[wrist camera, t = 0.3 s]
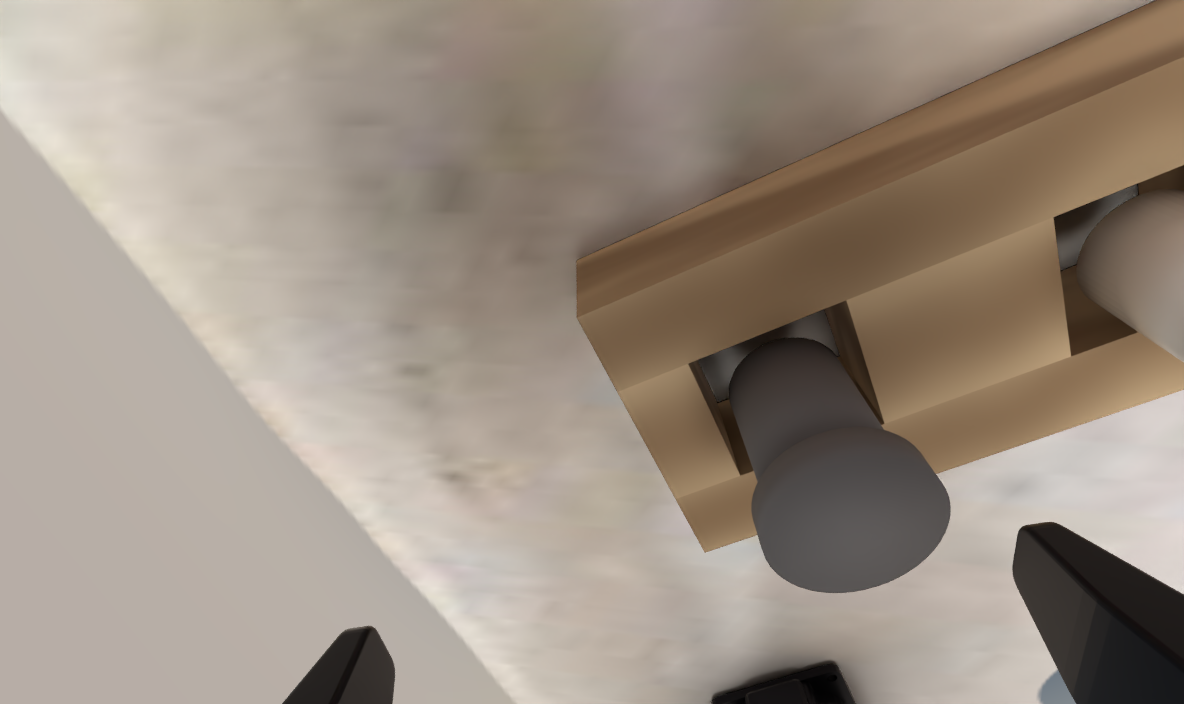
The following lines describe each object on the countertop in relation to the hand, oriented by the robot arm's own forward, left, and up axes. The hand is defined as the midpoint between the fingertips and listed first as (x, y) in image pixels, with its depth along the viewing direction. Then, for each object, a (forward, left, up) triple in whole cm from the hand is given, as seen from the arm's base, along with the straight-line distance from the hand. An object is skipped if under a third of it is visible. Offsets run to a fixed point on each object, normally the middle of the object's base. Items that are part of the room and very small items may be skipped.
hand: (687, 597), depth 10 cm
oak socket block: (-5, -8, -14) cm, 17 cm away
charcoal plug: (-5, -3, -10) cm, 12 cm away
